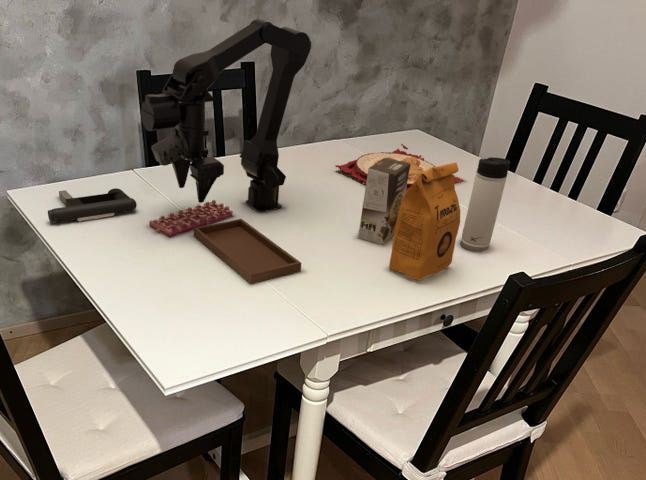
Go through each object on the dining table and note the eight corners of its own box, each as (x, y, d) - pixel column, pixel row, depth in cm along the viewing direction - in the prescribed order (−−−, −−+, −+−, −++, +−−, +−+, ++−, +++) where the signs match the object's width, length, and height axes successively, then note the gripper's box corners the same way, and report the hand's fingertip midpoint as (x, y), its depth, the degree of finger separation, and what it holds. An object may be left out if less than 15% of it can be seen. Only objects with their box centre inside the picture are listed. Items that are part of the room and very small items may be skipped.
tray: (240, 226, 167) (241, 218, 166) (300, 271, 151) (301, 262, 150) (193, 236, 162) (193, 227, 161) (250, 284, 145) (250, 274, 144)
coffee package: (457, 271, 154) (481, 168, 142) (417, 287, 148) (438, 180, 135) (421, 253, 161) (441, 153, 148) (381, 267, 154) (398, 164, 142)
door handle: (33, 191, 172) (51, 213, 160) (116, 180, 180) (139, 200, 168) (34, 205, 173) (53, 228, 161) (117, 193, 182) (140, 215, 170)
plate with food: (332, 171, 200) (334, 159, 198) (397, 153, 213) (399, 141, 211) (398, 202, 185) (400, 189, 183) (464, 180, 199) (466, 168, 197)
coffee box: (383, 245, 163) (395, 174, 154) (357, 238, 165) (367, 167, 156) (399, 232, 169) (412, 163, 160) (374, 224, 172) (384, 156, 163)
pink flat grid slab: (147, 227, 164) (146, 218, 163) (212, 206, 176) (212, 198, 175) (167, 238, 160) (167, 229, 159) (232, 216, 171) (232, 208, 170)
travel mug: (474, 254, 161) (495, 165, 150) (454, 242, 166) (473, 154, 155) (495, 250, 164) (518, 161, 153) (475, 238, 169) (496, 151, 157)
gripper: (137, 115, 158) (140, 186, 167) (176, 142, 145) (177, 216, 154) (184, 110, 163) (184, 178, 172) (226, 135, 151) (224, 207, 159)
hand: (191, 194), depth 164 cm, fingers open, 9 cm apart
